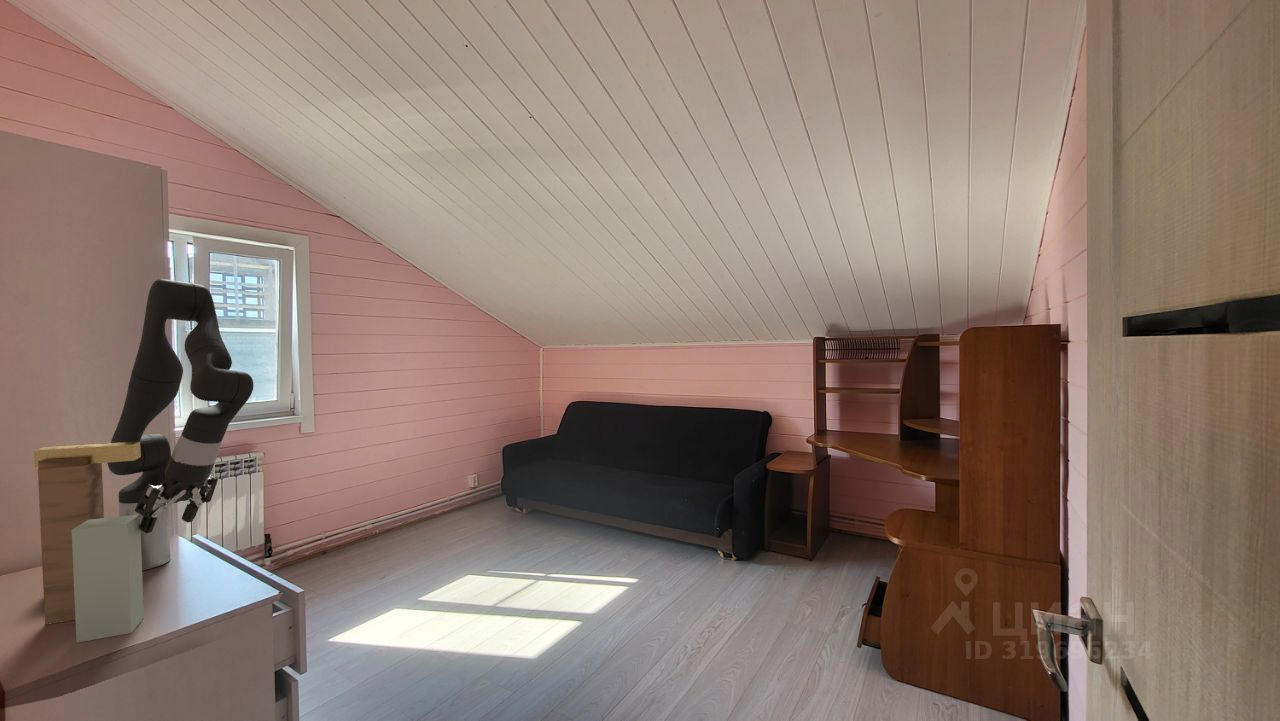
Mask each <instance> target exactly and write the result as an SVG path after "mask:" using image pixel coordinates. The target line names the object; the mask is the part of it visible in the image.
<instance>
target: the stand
mask: <svg viewBox="0 0 1280 721" xmlns="http://www.w3.org/2000/svg"><path fill="white" fill-rule="evenodd" d="M37 468H38V469H37V479H38V482H37V483H38V501H39V503H38V504H39V523H40V545H41V564H42V565H41V567H42V568H41V570H42V586H43V587H42V590H43V591H42V592H43V609H44V611H43V612H44V613H43V614H44V625H45V624H47V625H50V624H49V623H53V624H56V623H55V622H59V623H62V622H61V621H65V622H70V621H69V620H71V621H76V620H75V596H74V573H73V550H72V529H74V528H75V527H77V526H79V525H80V524H82V523H83V522H85V521H87V520H91V519H101V518H105V513H104V508H105V507H104V489H103V487H104V486H103V485H104V484H103V483H104V482H103V463H93V464H88V457H84V458H69V459H54V460H41V461H38V467H37Z"/></svg>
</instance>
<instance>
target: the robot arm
mask: <svg viewBox="0 0 1280 721" xmlns="http://www.w3.org/2000/svg"><path fill="white" fill-rule="evenodd" d="M145 306H146V307H145V312H144V320H143V326H142V332H141V337H140V343H139V345H138V349H137V354H136V357H135V361H134V364H133V367H132V370H131V374H130V378H129V382H128V386H127V387H128V388H127V392H126V396H125V400H124V404H123V408H122V411H121V414H120V418H119V420H118V422H117V425H116V428H115V430H114V432H113V435H112V438H111V440H110V443H122V442H139V441H140V451H141V457H140V458H138V459H136V460H134V461H122V462H107V466H108V470H109V471H110V472H111V473H112V474H113V475H116V476H128V475H135V474H139V473H141V475H140V476H139V477H138V478H137V479H136V480H135V481H133V482H131V483H129V484H128V485H125V486H124V487H123V488H121V489H120V490H119V491H118V513H119V515H118V517H120V516H129V515H139V514H140V526H139V528H140V529H141V555H142V571H145V570H150V569H153V568H157V567H160V566H162V565H165V564H166V563H168V562H169V561H171V538H170V537H171V536H170V535H171V534H170V511H169V509H170V507H171V506H173V504H178V503H180V502H186V501H188V503H187V504H186V506H185V509H184V510H183V514H182V516H181V520H182V521H184V522H186V523H193V521H194V519H195V518H196V515H197V514H198V511H199V509H200V508H201V507H202V506H203V505H204V504H205V503H210V502H211V501H212V499H213V495H214V494H215V489H216V487H217V484H218V480H219V479H218V478H217V477H215V476H213V475H211V473H212V470H213V468H214V466H215V463H216V460H217V457H218V455H219V453H220V451H221V446H222V441H223V440H224V437H225V434H226V432H227V430H228V427H229V425H230V423H231V422H232V421H233V419H234V418H235V417H236V416H237V414H238V413H239V412H240V410H241V409H242V408H243V407H244V406H245V404H246V403H247V401H248V400H249V399H250V397H251V396H252V394H253V391H254V380H253V377H252V376H251V375H250V374H249V373H248V372H245V371H240V370H234V369H231V368H232V365H233V360H232V356H231V355H230V353H229V350H228V348H227V346H226V344H225V341H223V338H222V335H221V332H220V328H219V320H218V316H217V312H216V308H215V303H214V299H213V296H212V293H211V292H210V290H209V288H207V287H206V286H204V285H202V284H199V283H195V282H194V283H193V282H188V281H187V282H186V281H180V280H172V279H165V278H160V279H156V280H154V282H153V283H152V284H151V286H150V288H149V291H148V295H147V301H146V305H145ZM167 320H176V321H187V322H196V323H197V324H196V325H195V327H193V329H192V330H191V331H190V332H189V333H188V334H187V337H185V340H184V351H185V354H186V357H187V359H188V361H189V363H190V366H191V379H190V386H189V387H190V391H191V392H190V393H191V394H192V395H193V397H195V398H196V399H199V400H201V401H204V402H214V403H215V402H216V403H215V405H212V406H207V407H198V408H195V409H193V410H192V411H191V412H190V413H189V415H188V416H187V420H186V421H185V424H184V426H183V430H182V432H181V434H180V436H179V438H178V439H177V441H176V443H175V446H174V447H173V448H174V449H173V451H172V450H171V445H170V441H169V440H168V438H167V437H166V436H165V435H164V434H162V433H149V434H144V433H145V430H146V429H147V428H148V426H149V425H150V424H151V422H152V421H154V419H155V418H157V417H158V416H159V415H160V414H161V413H162V412H163V411H164V410H165V409H166V408H167V407H168V406H169V405H170V404H171V403H172V402H173V401H174V400H175V398H176V396H177V395H178V393H179V390H180V386H181V383H182V379H183V375H184V368H183V365H182V362H181V360H180V359H179V357H178V355H177V354H176V352H175V350H174V349H173V347H172V345H171V344H170V342H169V340H168V339H169V338H168V337H167V335H166V321H167Z"/></svg>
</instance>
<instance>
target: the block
mask: <svg viewBox="0 0 1280 721" xmlns="http://www.w3.org/2000/svg"><path fill="white" fill-rule="evenodd" d="M139 526H140V514H139V515H129V516H120V517H119V516H110V517H104V518H101V519H91V520H87V521H85V522H83V523H82V524H80V525H79V526H77V527H75V528H74V529H72V550H73V573H74V596H75V619H76V620H75V636H76V637H75V638H76V640H75V641H76V644H77V643H82V642H89V641H93V640H94V641H95V640H100V639H107V638H111V637H116V636H117V637H118V636H122V635H128V634H132V633H133V632H134V631H135V629H136V628H138V626H139V625H140V624H141V623H142V621H143V620H144V619H145V611H144V589H143V588H144V587H143V586H144V585H143V584H144V583H143V570H142V555H141V529H140V528H139ZM143 618H144V619H143ZM142 619H143V620H142Z"/></svg>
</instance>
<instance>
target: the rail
mask: <svg viewBox="0 0 1280 721" xmlns="http://www.w3.org/2000/svg"><path fill="white" fill-rule="evenodd" d="M84 457H88V464H93V463H102V464H105V463H107V462H122V461H134V460H136V459H138V458H140V457H141V451H140V441H139V442H122V443H111V442H109V443H93V444H89V443H88V444H78V445H77V444H75V445H73V444H72V445H61V446H60V445H59V446H44V447H43V446H42V447H40V448H37V449H35V450H33V458H34V459H33V460H34V463H33V464H34V468H38V461H41V460H54V459H69V458H84Z"/></svg>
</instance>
